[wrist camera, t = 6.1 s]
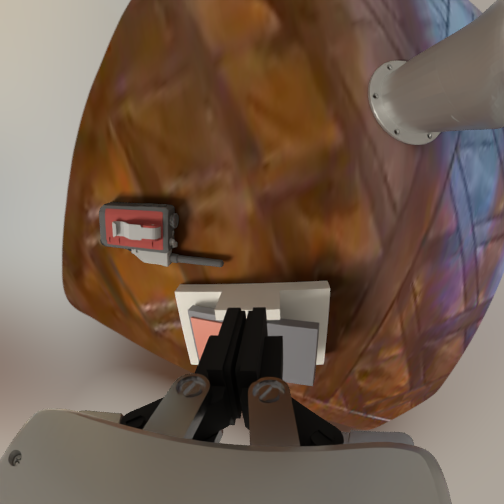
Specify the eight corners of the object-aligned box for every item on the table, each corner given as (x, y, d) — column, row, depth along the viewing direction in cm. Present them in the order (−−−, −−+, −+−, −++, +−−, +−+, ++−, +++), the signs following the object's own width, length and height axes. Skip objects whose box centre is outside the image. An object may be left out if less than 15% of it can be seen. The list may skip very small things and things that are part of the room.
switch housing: (327, 280, 39) (337, 306, 32) (321, 354, 44) (327, 385, 37) (179, 284, 41) (162, 309, 34) (194, 355, 46) (183, 384, 39)
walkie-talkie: (107, 252, 41) (224, 267, 40) (92, 262, 37) (219, 280, 36) (103, 199, 38) (228, 207, 37) (87, 205, 34) (222, 213, 33)
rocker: (319, 321, 33) (317, 330, 31) (314, 377, 36) (312, 387, 34) (193, 304, 39) (186, 311, 37) (204, 356, 43) (198, 364, 41)
